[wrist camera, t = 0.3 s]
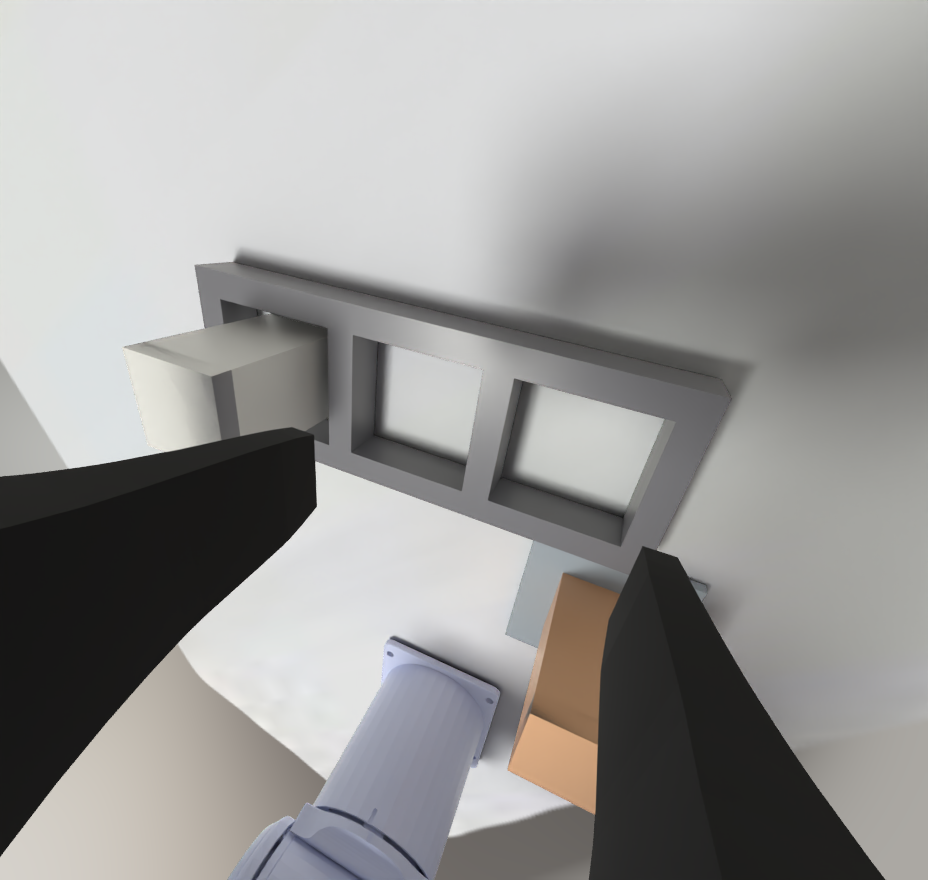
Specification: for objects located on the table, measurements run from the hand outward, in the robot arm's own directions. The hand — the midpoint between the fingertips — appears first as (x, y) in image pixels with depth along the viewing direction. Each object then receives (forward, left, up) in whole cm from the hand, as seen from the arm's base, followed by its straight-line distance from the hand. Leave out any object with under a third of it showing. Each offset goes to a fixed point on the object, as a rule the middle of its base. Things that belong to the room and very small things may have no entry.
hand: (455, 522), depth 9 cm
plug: (-11, -5, -9) cm, 15 cm away
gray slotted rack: (-2, +5, -10) cm, 11 cm away
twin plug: (-2, +12, -10) cm, 15 cm away
